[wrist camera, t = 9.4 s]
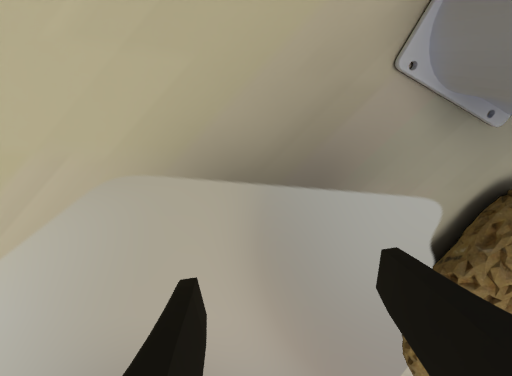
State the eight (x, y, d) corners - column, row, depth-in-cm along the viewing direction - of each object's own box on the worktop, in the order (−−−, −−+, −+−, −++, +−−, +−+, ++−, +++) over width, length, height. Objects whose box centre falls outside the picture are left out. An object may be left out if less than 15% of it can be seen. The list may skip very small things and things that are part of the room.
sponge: (470, 163, 22) (345, 356, 24) (620, 199, 15) (423, 460, 18) (523, 212, 28) (419, 361, 31) (646, 253, 21) (497, 439, 24)
